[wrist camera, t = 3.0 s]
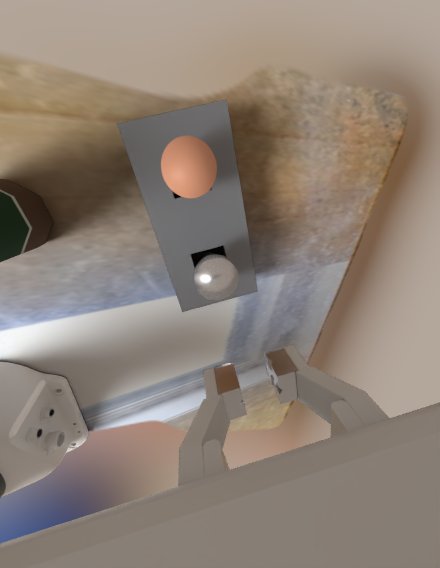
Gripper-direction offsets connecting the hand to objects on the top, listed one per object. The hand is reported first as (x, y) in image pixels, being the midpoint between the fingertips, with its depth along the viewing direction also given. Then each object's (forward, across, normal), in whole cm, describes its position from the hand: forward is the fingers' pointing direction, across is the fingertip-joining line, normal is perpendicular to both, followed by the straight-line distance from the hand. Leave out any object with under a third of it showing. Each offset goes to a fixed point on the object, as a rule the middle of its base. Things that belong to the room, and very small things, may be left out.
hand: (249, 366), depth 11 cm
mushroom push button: (+18, 0, +10) cm, 20 cm away
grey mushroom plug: (+18, 0, 0) cm, 18 cm away
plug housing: (+21, 0, +5) cm, 22 cm away
